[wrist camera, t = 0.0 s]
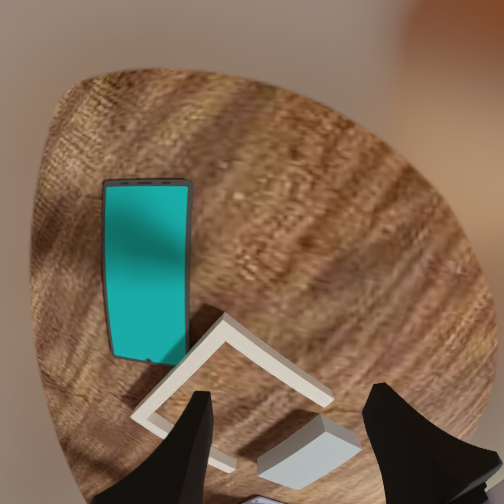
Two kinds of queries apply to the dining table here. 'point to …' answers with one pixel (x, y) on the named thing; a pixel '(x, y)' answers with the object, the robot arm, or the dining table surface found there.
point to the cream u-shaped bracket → (200, 353)
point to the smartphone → (147, 269)
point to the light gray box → (308, 453)
